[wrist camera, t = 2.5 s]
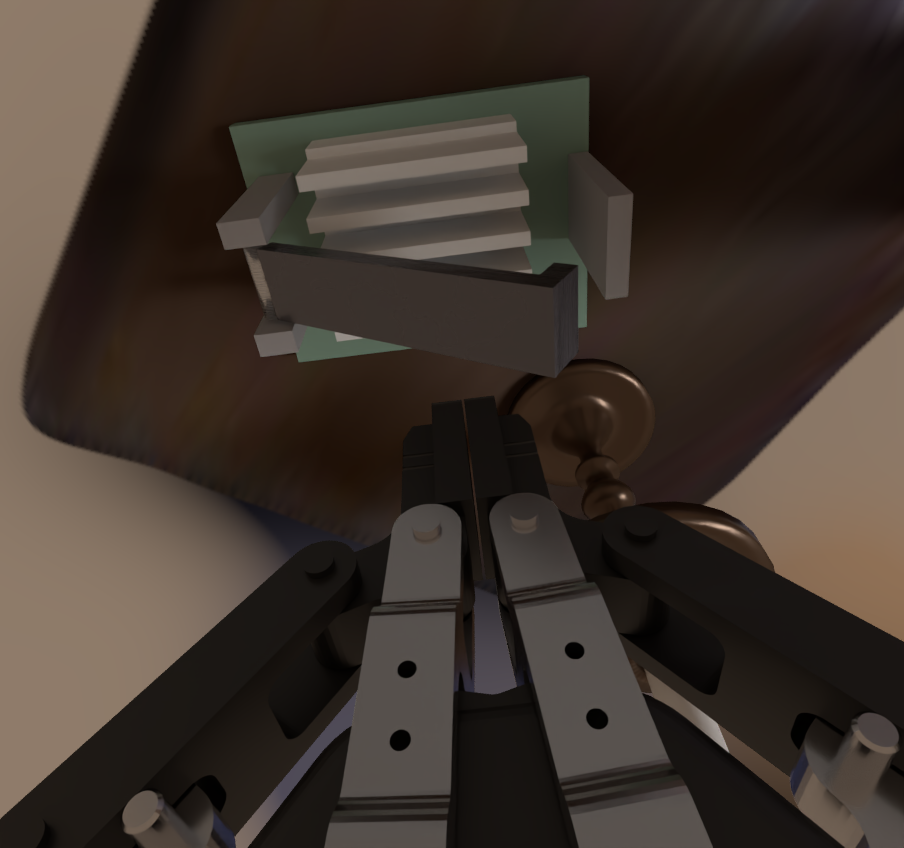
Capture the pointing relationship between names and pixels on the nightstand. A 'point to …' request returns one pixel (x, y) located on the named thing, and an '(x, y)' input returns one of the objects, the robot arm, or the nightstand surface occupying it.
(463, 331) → the strap
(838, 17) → the nightstand surface
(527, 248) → the heatsink board
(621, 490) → the candlestick
